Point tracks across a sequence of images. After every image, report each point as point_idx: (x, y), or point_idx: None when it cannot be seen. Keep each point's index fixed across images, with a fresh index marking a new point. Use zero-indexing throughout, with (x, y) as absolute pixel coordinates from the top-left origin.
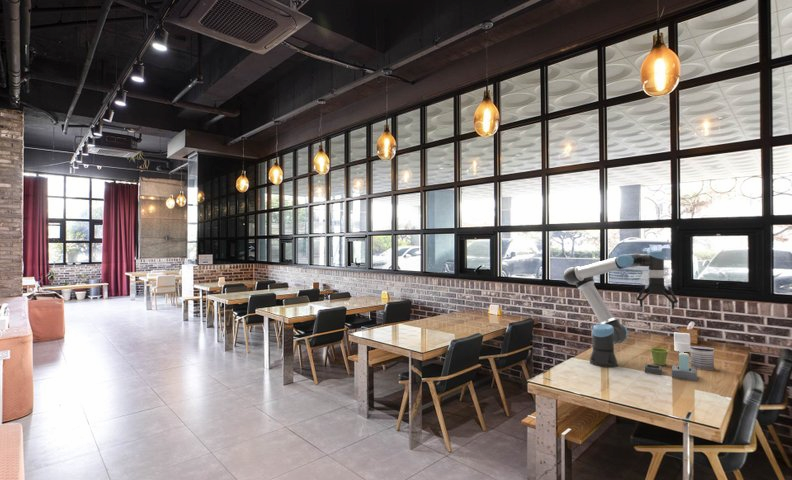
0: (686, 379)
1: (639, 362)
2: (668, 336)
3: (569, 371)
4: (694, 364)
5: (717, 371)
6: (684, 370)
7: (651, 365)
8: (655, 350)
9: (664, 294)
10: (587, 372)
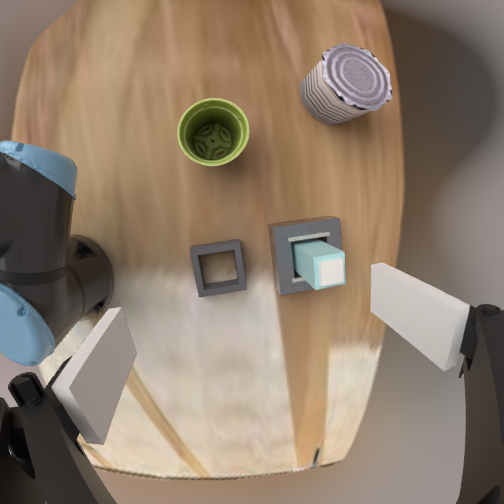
0: None
1: (152, 168)
2: None
3: None
4: (317, 115)
5: (366, 125)
6: None
7: (209, 253)
8: (194, 111)
9: (473, 487)
10: None
